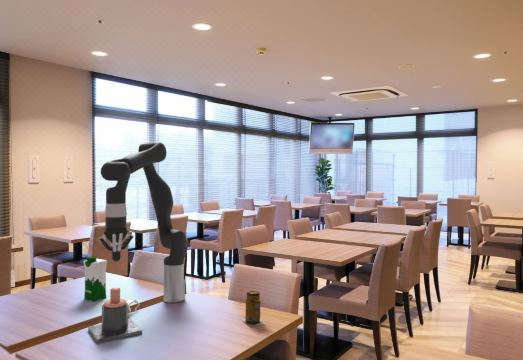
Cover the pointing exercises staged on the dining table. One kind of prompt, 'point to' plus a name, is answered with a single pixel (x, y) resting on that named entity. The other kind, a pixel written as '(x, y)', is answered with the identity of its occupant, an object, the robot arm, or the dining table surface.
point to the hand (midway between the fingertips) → (116, 261)
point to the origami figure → (131, 303)
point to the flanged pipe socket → (114, 325)
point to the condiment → (253, 309)
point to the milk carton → (95, 278)
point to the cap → (115, 299)
